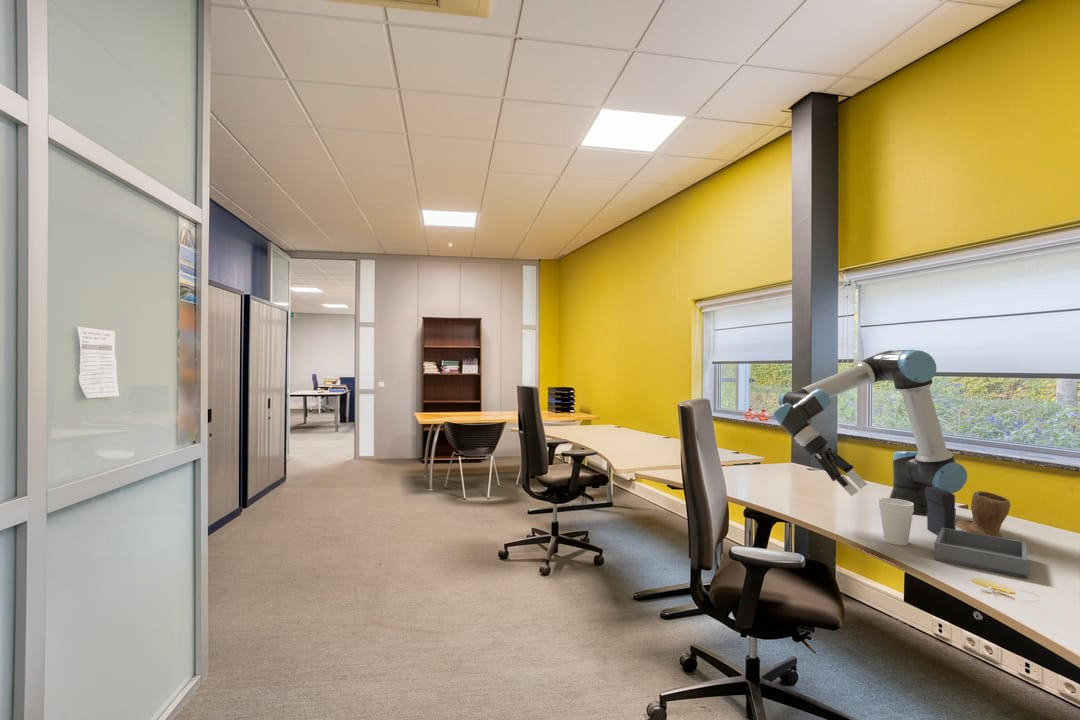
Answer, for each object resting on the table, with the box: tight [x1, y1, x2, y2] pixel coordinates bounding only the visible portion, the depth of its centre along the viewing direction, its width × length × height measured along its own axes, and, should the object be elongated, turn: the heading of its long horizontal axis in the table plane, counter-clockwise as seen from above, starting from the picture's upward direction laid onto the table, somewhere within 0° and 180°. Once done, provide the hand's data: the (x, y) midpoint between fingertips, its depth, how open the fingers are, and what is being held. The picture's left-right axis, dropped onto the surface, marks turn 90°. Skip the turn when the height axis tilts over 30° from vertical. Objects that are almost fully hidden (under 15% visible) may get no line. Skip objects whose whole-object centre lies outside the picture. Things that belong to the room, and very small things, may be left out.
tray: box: [934, 527, 1029, 580], centre depth 154 cm, size 20×20×5 cm
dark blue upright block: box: [925, 487, 957, 536], centre depth 176 cm, size 11×4×15 cm, turn 168°
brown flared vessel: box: [956, 490, 1011, 538], centre depth 174 cm, size 15×12×15 cm
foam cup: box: [878, 497, 914, 546], centre depth 169 cm, size 10×9×13 cm
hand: (859, 490), depth 176 cm, fingers open, 13 cm apart
